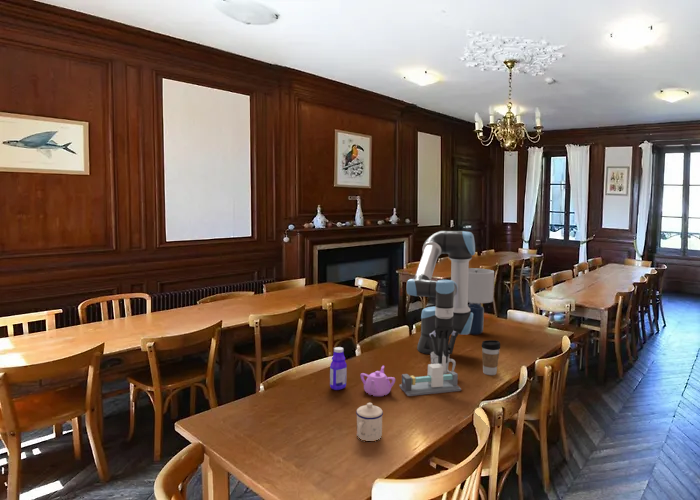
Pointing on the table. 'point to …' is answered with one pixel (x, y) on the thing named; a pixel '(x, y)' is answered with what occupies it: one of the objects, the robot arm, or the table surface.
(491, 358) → the coffee cup
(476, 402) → the table surface
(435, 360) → the mug
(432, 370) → the white slider block
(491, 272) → the lamp
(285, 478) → the table surface
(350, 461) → the table surface
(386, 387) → the teapot
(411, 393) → the slider rail
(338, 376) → the bottle
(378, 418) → the teacup with lid
